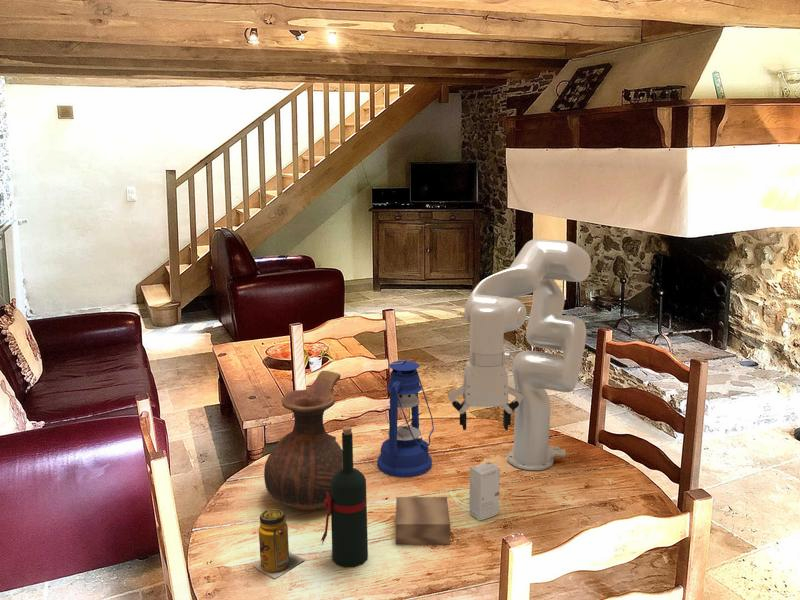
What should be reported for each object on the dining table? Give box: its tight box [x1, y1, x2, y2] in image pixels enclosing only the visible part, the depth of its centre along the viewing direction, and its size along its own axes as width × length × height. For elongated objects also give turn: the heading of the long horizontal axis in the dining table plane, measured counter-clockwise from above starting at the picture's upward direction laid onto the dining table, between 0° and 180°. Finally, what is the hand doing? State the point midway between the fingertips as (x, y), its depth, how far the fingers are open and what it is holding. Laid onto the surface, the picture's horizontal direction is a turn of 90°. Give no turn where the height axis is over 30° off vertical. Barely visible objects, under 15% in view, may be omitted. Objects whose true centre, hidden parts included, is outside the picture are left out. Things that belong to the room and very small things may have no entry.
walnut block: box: [395, 496, 451, 545], centre depth 165 cm, size 12×12×5 cm
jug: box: [263, 370, 343, 511], centre depth 176 cm, size 22×22×30 cm
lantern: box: [376, 359, 435, 478], centre depth 194 cm, size 17×15×30 cm
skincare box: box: [468, 461, 501, 522], centre depth 171 cm, size 6×4×12 cm
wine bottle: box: [320, 425, 369, 568], centre depth 151 cm, size 8×10×30 cm
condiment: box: [252, 508, 306, 579], centre depth 151 cm, size 7×8×12 cm
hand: (484, 427), depth 167 cm, fingers open, 9 cm apart
